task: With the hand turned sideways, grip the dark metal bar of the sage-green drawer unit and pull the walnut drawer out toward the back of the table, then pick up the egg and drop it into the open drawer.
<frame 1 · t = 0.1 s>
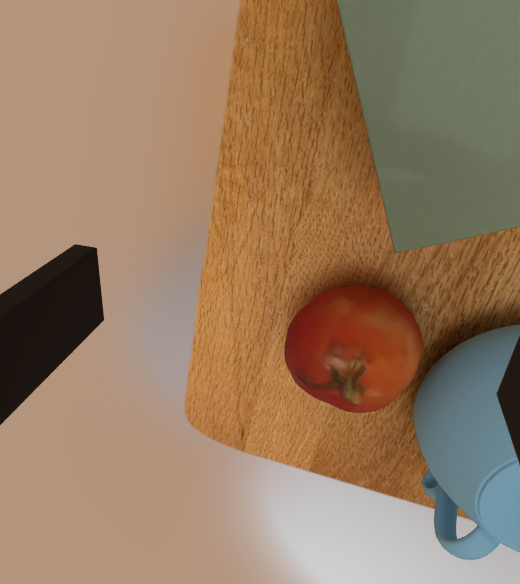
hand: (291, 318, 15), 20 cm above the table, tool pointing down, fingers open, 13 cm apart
cabinet: (499, 50, 27), on the table
tomato: (354, 318, 37), on the table
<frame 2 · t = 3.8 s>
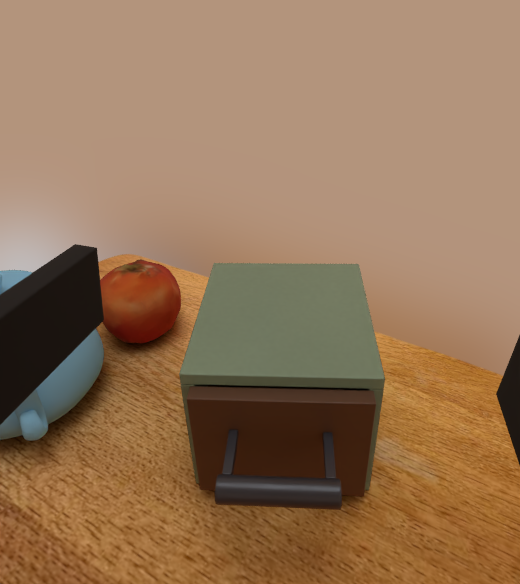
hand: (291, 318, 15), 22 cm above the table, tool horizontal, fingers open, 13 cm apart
cabinet: (283, 413, 42), on the table
drawer: (282, 403, 35), point 5 cm above the table, slide at 0.0 cm, touching cabinet
tomato: (146, 330, 53), on the table
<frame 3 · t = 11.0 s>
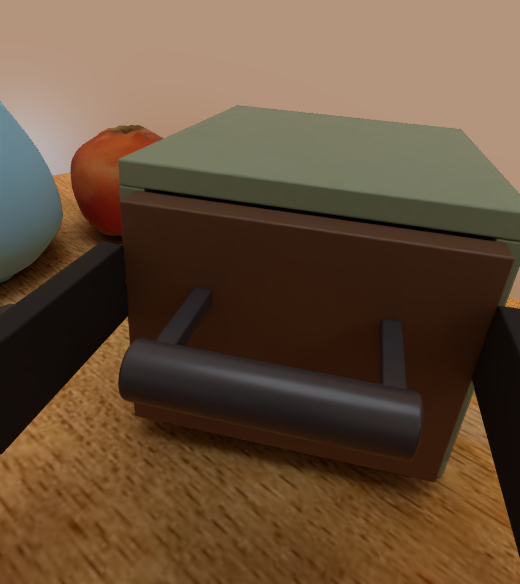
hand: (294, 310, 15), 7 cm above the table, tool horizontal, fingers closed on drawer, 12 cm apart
cabinet: (305, 344, 26), on the table
drawer: (306, 293, 20), point 5 cm above the table, slide at 0.0 cm, touching gripper
tomato: (136, 230, 39), on the table
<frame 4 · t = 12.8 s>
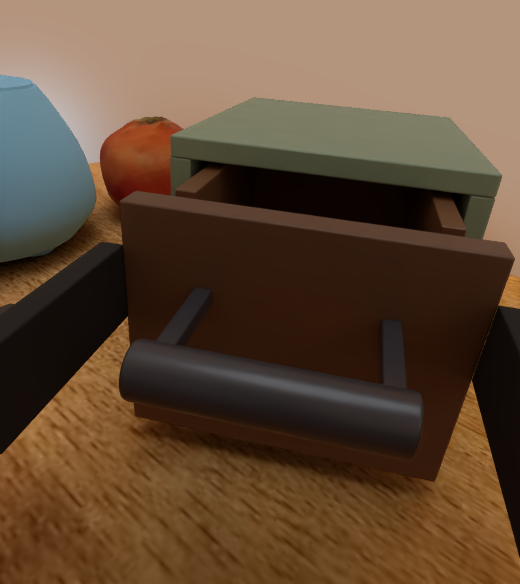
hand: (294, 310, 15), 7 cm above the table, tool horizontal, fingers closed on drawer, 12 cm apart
cabinet: (314, 304, 30), on the table
drawer: (305, 293, 20), point 5 cm above the table, slide at 4.5 cm, touching gripper
tomato: (157, 212, 43), on the table
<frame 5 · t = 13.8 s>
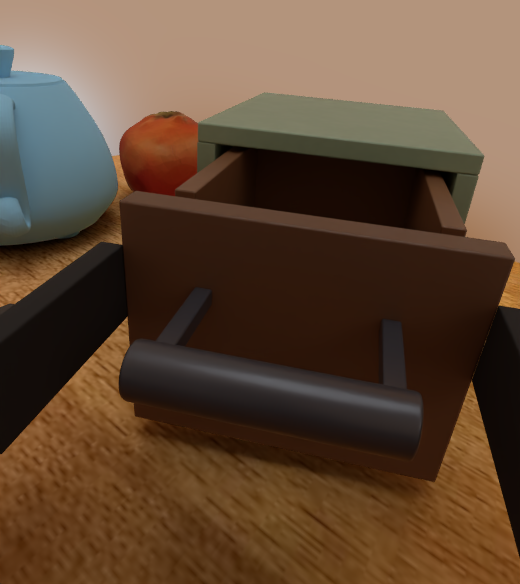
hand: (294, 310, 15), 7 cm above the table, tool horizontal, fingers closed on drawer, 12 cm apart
cabinet: (320, 280, 33), on the table
drawer: (305, 293, 20), point 5 cm above the table, slide at 7.9 cm, touching gripper
tomato: (171, 201, 46), on the table
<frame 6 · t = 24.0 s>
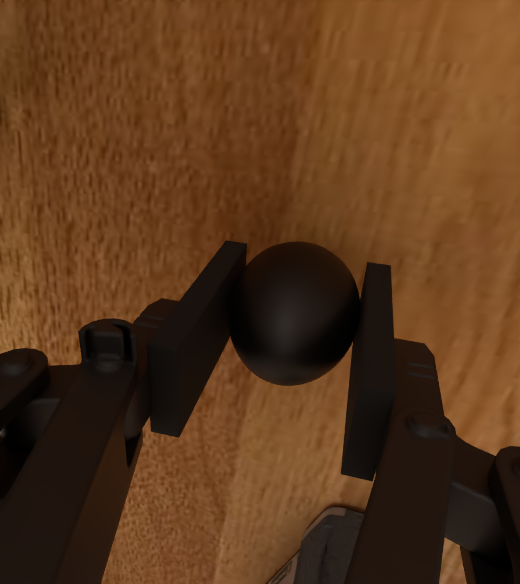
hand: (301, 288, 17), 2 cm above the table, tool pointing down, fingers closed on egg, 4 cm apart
camera: (326, 565, 27), on the table
egg: (303, 279, 17), point 2 cm above the table, touching gripper
when the fingers open (8 cm above the table, at t = 29.7 s): egg drops 5 cm, resting on drawer.
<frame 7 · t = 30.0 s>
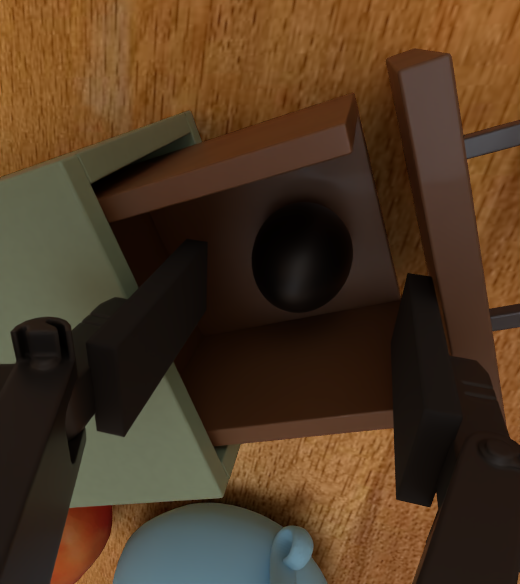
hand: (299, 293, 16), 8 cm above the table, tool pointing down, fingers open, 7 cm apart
cabinet: (116, 266, 27), on the table
teapot: (258, 564, 37), on the table
egg: (309, 231, 21), point 2 cm above the table, touching drawer
drawer: (337, 252, 18), point 5 cm above the table, slide at 8.7 cm, touching egg, gripper
tomato: (73, 478, 37), on the table
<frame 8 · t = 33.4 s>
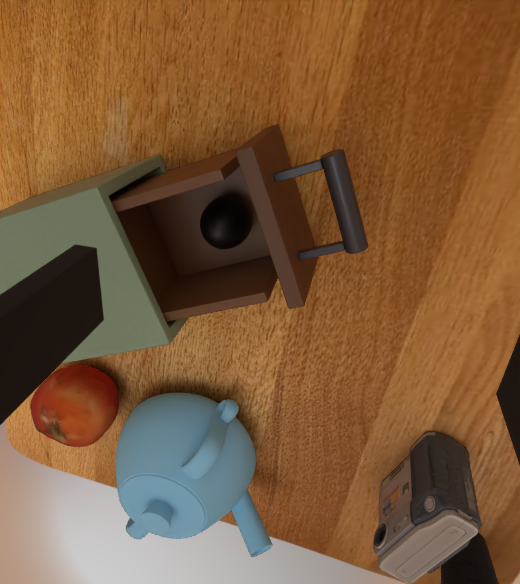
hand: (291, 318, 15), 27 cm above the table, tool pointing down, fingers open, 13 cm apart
cabinet: (121, 240, 46), on the table
drinking cup: (462, 540, 55), on the table
camera: (420, 466, 51), on the table
teapot: (214, 440, 56), on the table
egg: (233, 213, 40), point 2 cm above the table, touching drawer
drawer: (238, 224, 37), point 5 cm above the table, slide at 9.7 cm, touching egg
tomato: (93, 382, 56), on the table
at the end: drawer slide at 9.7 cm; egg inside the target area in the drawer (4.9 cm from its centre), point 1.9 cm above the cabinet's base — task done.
